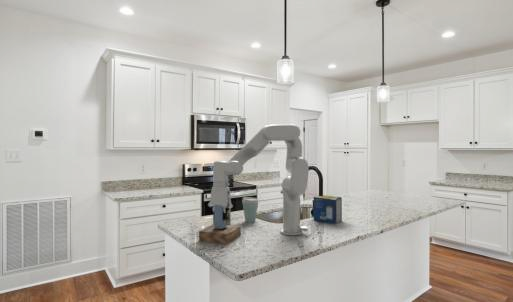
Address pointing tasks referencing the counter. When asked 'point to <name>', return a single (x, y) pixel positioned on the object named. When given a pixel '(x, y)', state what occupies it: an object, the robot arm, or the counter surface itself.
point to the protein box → (328, 209)
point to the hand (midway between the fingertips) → (220, 219)
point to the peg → (219, 217)
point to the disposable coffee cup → (250, 208)
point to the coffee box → (228, 219)
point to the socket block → (220, 234)
